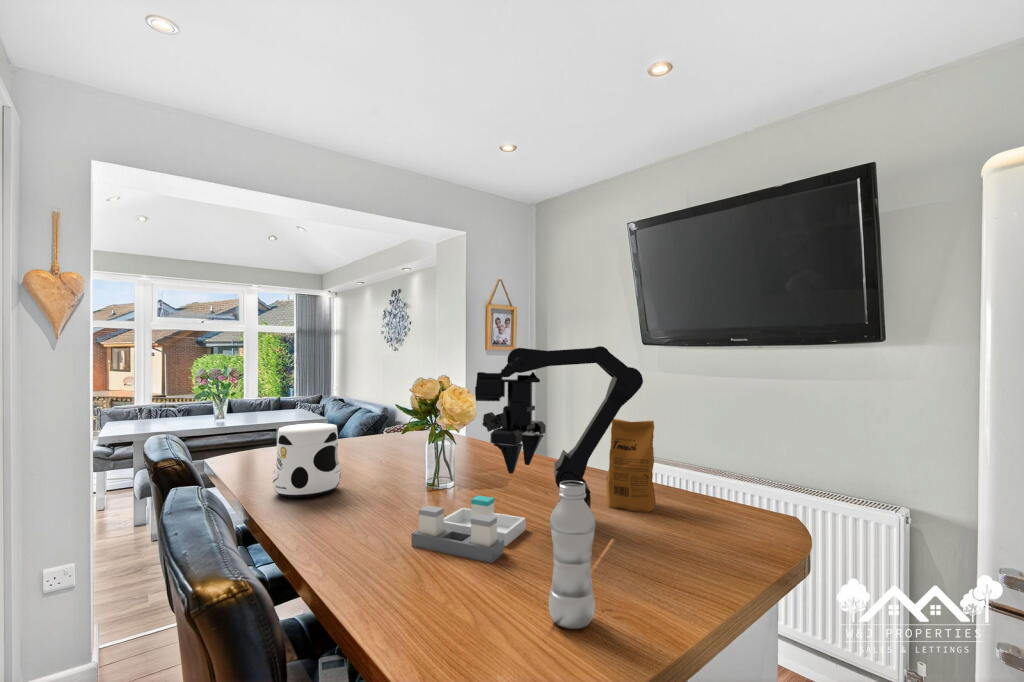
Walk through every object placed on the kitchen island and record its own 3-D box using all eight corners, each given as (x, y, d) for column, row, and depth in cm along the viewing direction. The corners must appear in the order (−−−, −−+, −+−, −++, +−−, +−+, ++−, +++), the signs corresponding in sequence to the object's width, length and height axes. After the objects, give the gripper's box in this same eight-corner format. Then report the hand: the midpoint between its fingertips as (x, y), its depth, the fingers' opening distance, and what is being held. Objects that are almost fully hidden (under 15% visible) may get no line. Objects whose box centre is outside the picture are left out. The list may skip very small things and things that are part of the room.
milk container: (259, 494, 131) (260, 428, 131) (317, 480, 145) (318, 421, 146) (295, 506, 121) (296, 434, 122) (353, 490, 135) (354, 426, 136)
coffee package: (610, 497, 131) (610, 415, 131) (657, 503, 126) (657, 418, 126) (602, 507, 121) (602, 420, 122) (653, 514, 116) (652, 423, 117)
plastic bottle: (547, 610, 73) (547, 477, 74) (592, 611, 73) (592, 478, 73) (549, 635, 67) (549, 489, 67) (598, 636, 66) (598, 490, 67)
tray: (525, 531, 105) (525, 517, 105) (505, 548, 96) (505, 533, 96) (462, 520, 112) (462, 507, 112) (438, 535, 103) (438, 521, 103)
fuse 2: (496, 553, 92) (496, 516, 92) (489, 559, 89) (489, 521, 90) (478, 550, 94) (478, 513, 94) (470, 555, 91) (471, 518, 91)
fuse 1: (443, 542, 97) (444, 508, 97) (435, 548, 95) (435, 512, 95) (427, 539, 99) (427, 505, 99) (418, 544, 96) (418, 509, 96)
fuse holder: (503, 555, 93) (503, 539, 93) (491, 565, 88) (491, 549, 88) (426, 539, 100) (426, 524, 100) (411, 548, 96) (411, 533, 96)
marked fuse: (493, 530, 104) (494, 497, 104) (487, 535, 102) (487, 501, 102) (477, 527, 106) (477, 495, 106) (471, 532, 103) (471, 499, 103)
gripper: (506, 396, 124) (505, 457, 124) (469, 403, 107) (469, 474, 107) (546, 398, 119) (546, 462, 119) (515, 406, 102) (514, 480, 102)
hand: (519, 468), depth 112 cm, fingers open, 9 cm apart
